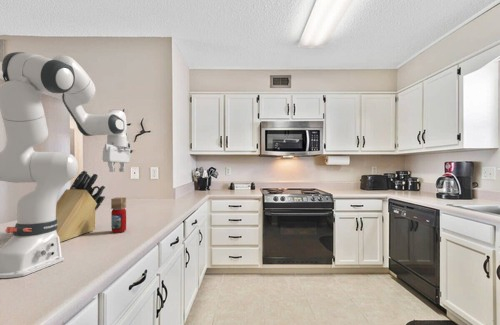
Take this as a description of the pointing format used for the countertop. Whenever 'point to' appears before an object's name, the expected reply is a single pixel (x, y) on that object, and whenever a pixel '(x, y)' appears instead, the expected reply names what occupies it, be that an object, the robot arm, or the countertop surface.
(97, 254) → the countertop surface
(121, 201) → the walnut block
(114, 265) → the countertop surface
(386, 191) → the countertop surface
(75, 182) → the knife block
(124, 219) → the beverage can
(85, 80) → the robot arm
